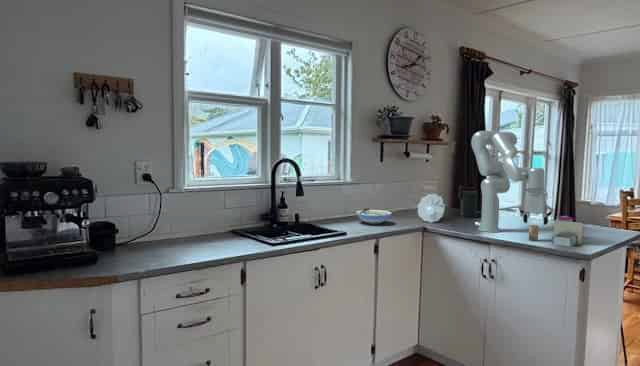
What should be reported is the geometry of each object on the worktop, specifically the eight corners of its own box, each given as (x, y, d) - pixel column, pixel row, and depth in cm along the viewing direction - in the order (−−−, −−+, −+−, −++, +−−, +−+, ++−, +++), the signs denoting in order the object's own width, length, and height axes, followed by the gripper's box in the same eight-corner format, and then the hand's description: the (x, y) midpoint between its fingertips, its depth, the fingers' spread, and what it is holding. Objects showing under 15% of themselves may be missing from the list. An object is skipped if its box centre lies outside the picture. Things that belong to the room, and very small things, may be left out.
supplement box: (555, 236, 237) (556, 216, 236) (565, 236, 237) (566, 216, 236) (562, 238, 231) (563, 217, 230) (572, 238, 231) (573, 217, 231)
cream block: (547, 243, 218) (548, 222, 217) (553, 240, 226) (555, 219, 225) (575, 247, 209) (577, 225, 208) (581, 244, 217) (582, 222, 216)
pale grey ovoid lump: (423, 228, 277) (425, 221, 301) (449, 218, 272) (449, 211, 296) (411, 203, 278) (414, 197, 301) (437, 193, 272) (438, 188, 296)
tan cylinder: (527, 240, 225) (528, 225, 224) (530, 239, 228) (530, 224, 227) (536, 241, 222) (536, 226, 221) (538, 240, 225) (539, 225, 224)
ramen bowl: (388, 227, 257) (388, 214, 257) (351, 225, 264) (351, 212, 264) (394, 221, 281) (394, 209, 280) (360, 219, 288) (361, 207, 287)
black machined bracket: (472, 214, 317) (473, 185, 315) (477, 218, 297) (479, 187, 295) (456, 213, 319) (457, 184, 317) (460, 218, 299) (461, 187, 297)
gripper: (516, 191, 226) (515, 222, 227) (551, 192, 214) (551, 226, 215) (521, 190, 231) (520, 221, 232) (556, 191, 219) (555, 224, 220)
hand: (535, 223), depth 223 cm, fingers open, 9 cm apart
